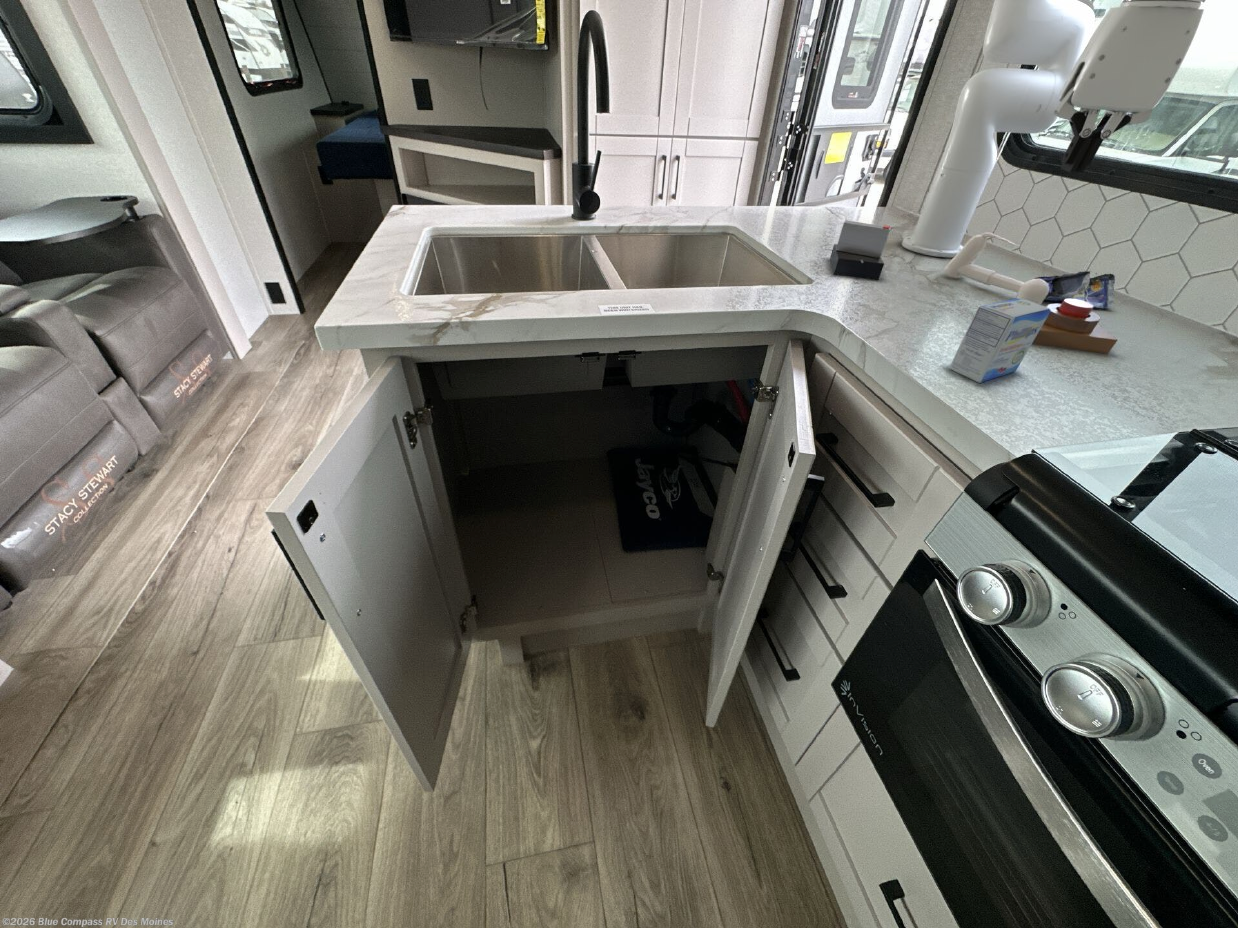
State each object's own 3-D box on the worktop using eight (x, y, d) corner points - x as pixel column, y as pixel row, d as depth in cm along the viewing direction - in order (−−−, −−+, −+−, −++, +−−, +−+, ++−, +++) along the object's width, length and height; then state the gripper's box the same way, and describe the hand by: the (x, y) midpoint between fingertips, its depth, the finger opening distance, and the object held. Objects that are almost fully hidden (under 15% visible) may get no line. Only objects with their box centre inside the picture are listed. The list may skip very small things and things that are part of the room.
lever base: (818, 256, 104) (822, 240, 102) (881, 264, 102) (887, 247, 100) (822, 275, 95) (827, 257, 93) (891, 283, 93) (898, 266, 91)
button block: (1011, 323, 81) (1025, 298, 78) (1082, 332, 79) (1098, 306, 77) (1030, 344, 74) (1046, 317, 72) (1107, 354, 73) (1126, 327, 70)
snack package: (1086, 320, 83) (1119, 306, 88) (1103, 279, 80) (1136, 267, 85) (1007, 306, 93) (1041, 295, 97) (1019, 269, 89) (1053, 259, 94)
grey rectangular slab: (835, 250, 98) (844, 220, 94) (837, 248, 99) (846, 218, 96) (879, 258, 95) (890, 228, 91) (881, 255, 96) (891, 226, 93)
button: (1052, 308, 76) (1059, 297, 75) (1079, 311, 76) (1087, 300, 74) (1063, 317, 73) (1070, 305, 72) (1091, 321, 73) (1098, 309, 72)
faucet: (1006, 331, 90) (1056, 284, 82) (939, 268, 98) (978, 220, 90) (1021, 328, 91) (1071, 281, 83) (953, 266, 99) (993, 218, 91)
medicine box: (978, 384, 64) (1015, 318, 58) (946, 368, 67) (978, 304, 62) (1015, 372, 67) (1054, 308, 62) (983, 358, 70) (1017, 295, 65)
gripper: (1218, -2, 62) (1117, 171, 73) (1080, -7, 64) (1003, 162, 75) (1263, -7, 56) (1145, 181, 68) (1110, -12, 58) (1022, 171, 70)
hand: (1071, 170), depth 71 cm, fingers closed
